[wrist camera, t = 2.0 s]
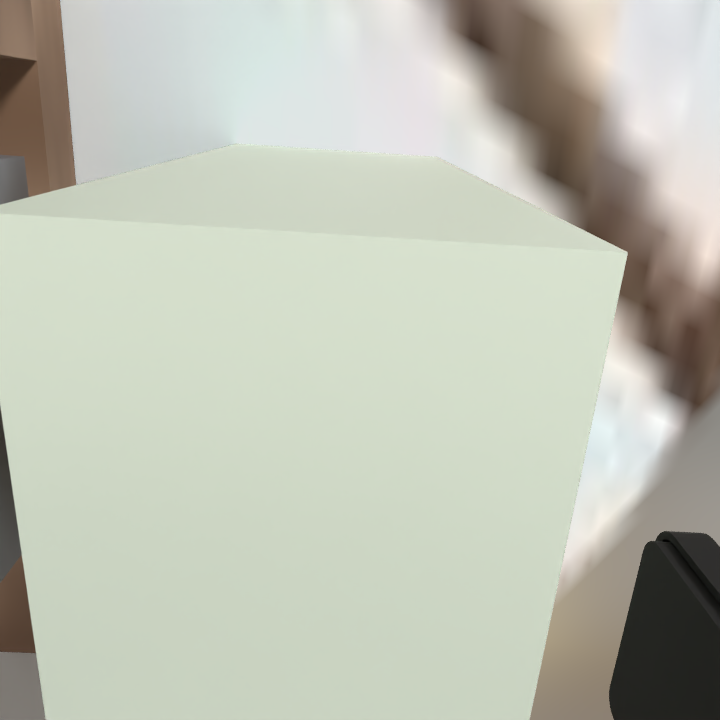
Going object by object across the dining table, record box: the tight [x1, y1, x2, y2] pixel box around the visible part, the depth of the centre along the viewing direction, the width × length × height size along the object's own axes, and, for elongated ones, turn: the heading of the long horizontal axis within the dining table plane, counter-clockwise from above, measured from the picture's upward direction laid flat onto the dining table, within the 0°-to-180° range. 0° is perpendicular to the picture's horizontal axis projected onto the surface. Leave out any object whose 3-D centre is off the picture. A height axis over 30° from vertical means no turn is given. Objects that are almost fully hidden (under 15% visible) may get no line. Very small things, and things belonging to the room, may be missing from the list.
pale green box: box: [0, 144, 628, 720], centre depth 12 cm, size 10×5×12 cm, turn 176°
